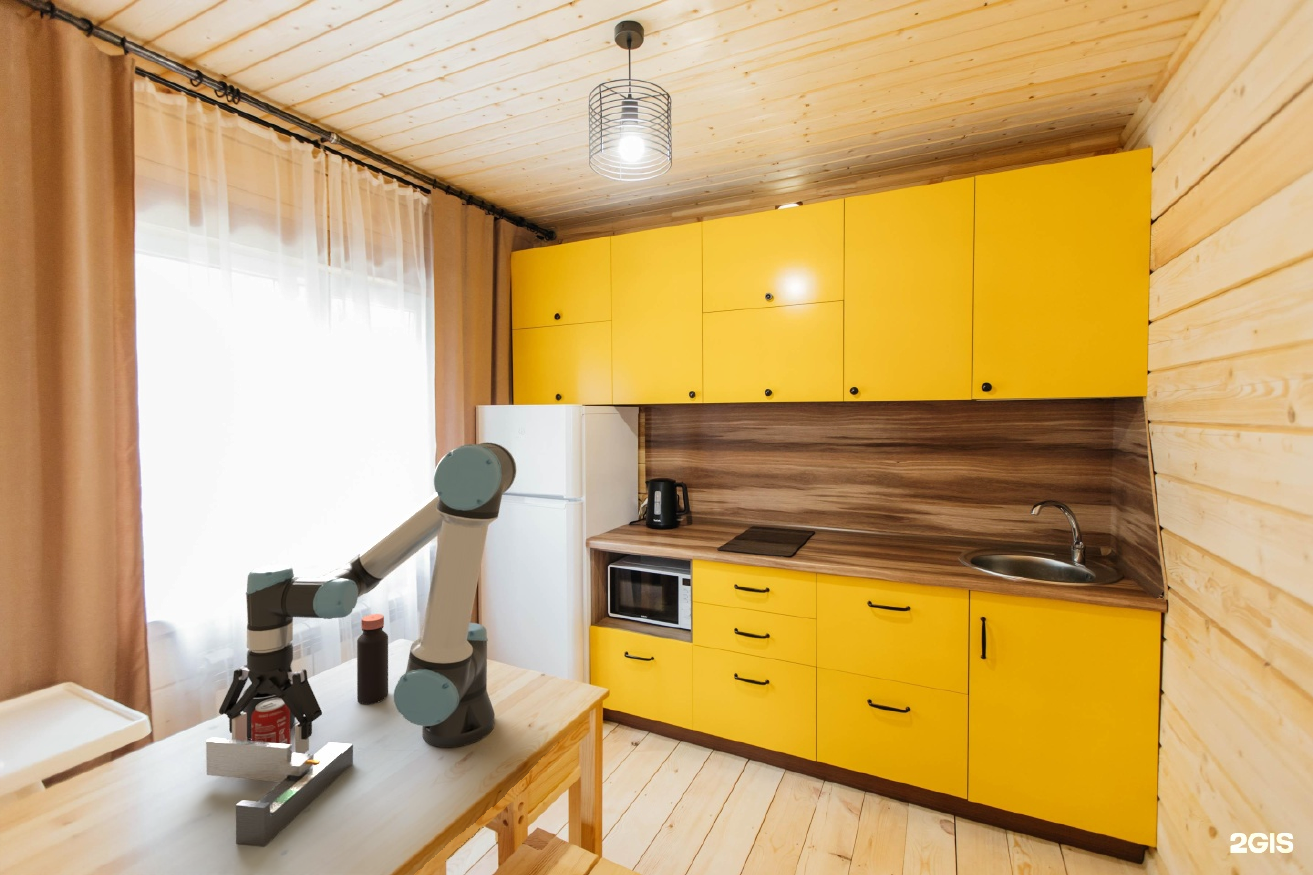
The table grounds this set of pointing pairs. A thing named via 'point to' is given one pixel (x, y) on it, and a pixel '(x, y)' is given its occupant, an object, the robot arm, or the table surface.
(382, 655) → the bottle
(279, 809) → the grey long bar
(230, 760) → the gauge paddle
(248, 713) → the mug
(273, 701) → the beverage can
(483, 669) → the robot arm
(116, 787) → the table surface
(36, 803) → the table surface
